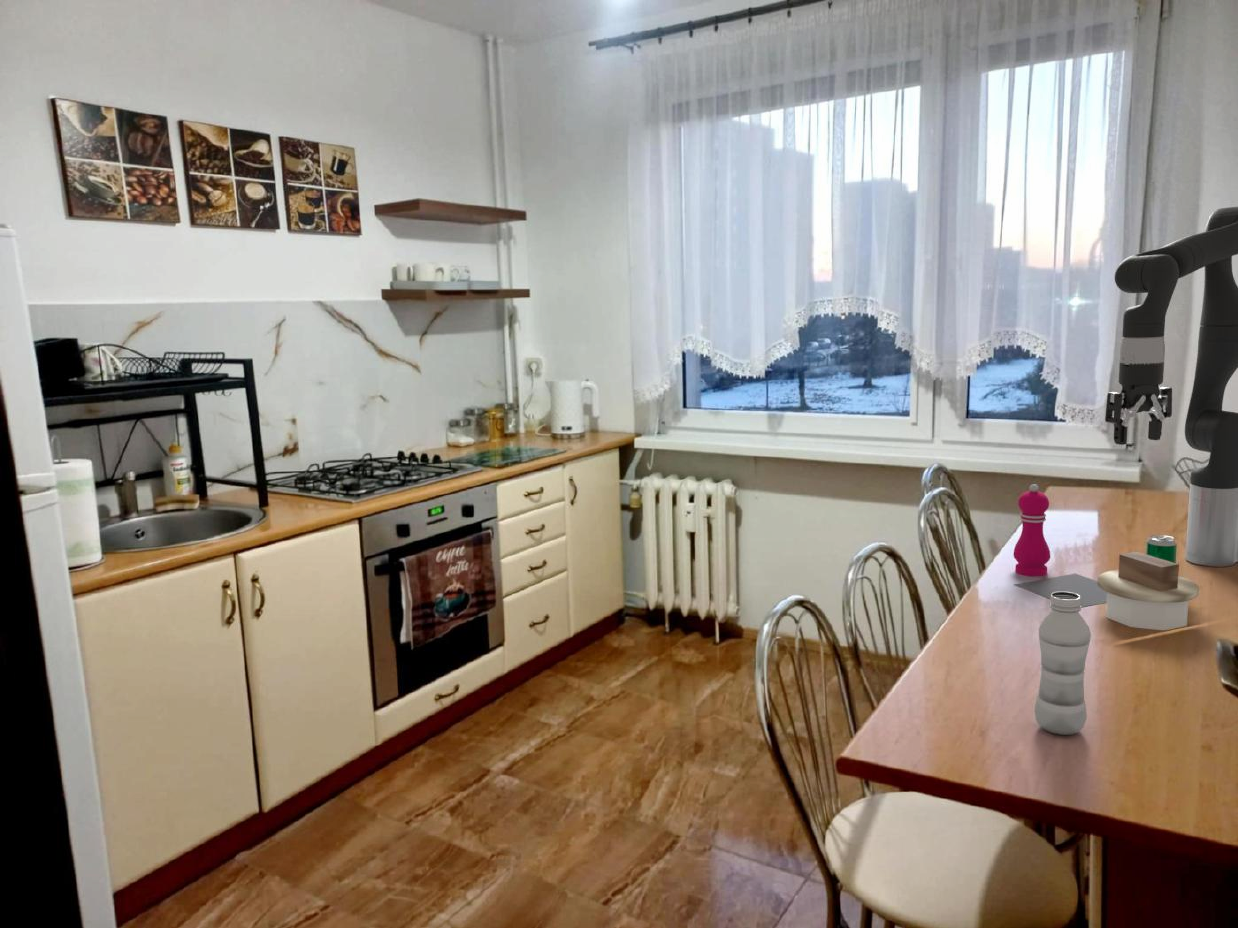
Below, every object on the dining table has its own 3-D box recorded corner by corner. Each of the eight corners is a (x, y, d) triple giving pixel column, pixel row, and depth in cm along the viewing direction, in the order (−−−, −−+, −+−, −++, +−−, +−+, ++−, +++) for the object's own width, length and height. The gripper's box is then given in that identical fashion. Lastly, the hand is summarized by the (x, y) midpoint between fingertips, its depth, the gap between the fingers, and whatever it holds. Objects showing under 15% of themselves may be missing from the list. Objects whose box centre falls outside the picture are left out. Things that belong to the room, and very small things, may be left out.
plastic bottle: (1024, 721, 127) (1028, 590, 124) (1069, 716, 128) (1074, 586, 124) (1049, 742, 121) (1055, 605, 117) (1096, 738, 122) (1103, 601, 118)
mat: (1075, 575, 188) (1075, 573, 188) (1139, 598, 173) (1139, 595, 173) (1013, 586, 183) (1013, 584, 183) (1074, 610, 168) (1074, 608, 168)
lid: (1143, 569, 171) (1145, 542, 170) (1220, 594, 156) (1223, 564, 155) (1077, 581, 167) (1078, 553, 166) (1150, 608, 152) (1152, 577, 151)
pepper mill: (1053, 579, 186) (1057, 487, 182) (1017, 579, 188) (1020, 488, 184) (1044, 568, 193) (1047, 480, 189) (1009, 568, 195) (1012, 480, 191)
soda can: (1140, 597, 173) (1143, 538, 171) (1146, 590, 177) (1150, 533, 175) (1170, 602, 170) (1173, 542, 168) (1175, 595, 173) (1179, 536, 171)
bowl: (1142, 603, 170) (1143, 573, 169) (1202, 624, 158) (1204, 593, 157) (1090, 613, 166) (1091, 583, 165) (1148, 636, 155) (1149, 603, 154)
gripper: (1153, 356, 176) (1148, 436, 179) (1097, 362, 172) (1093, 443, 175) (1187, 358, 169) (1181, 441, 172) (1129, 364, 165) (1125, 448, 168)
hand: (1137, 441), depth 174 cm, fingers open, 8 cm apart
